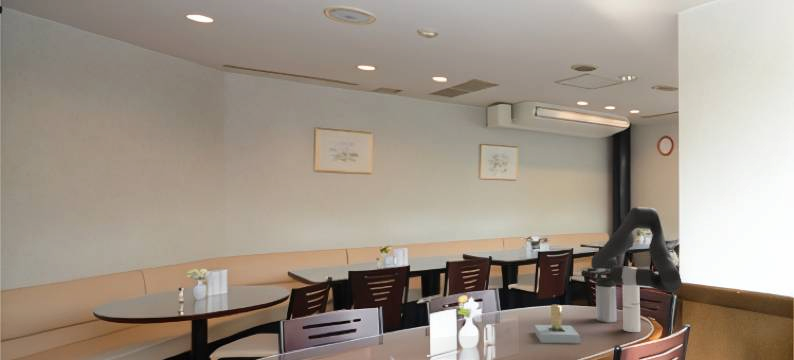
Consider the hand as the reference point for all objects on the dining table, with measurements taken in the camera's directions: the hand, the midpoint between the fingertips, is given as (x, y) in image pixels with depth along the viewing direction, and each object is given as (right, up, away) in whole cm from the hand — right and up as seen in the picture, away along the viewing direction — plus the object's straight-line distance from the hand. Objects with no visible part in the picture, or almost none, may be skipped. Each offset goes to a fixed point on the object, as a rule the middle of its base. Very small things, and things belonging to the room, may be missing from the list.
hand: (584, 272), depth 217 cm
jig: (-10, -30, +5) cm, 32 cm away
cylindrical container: (+28, -30, +17) cm, 45 cm away
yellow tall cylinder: (-10, -30, +5) cm, 32 cm away
